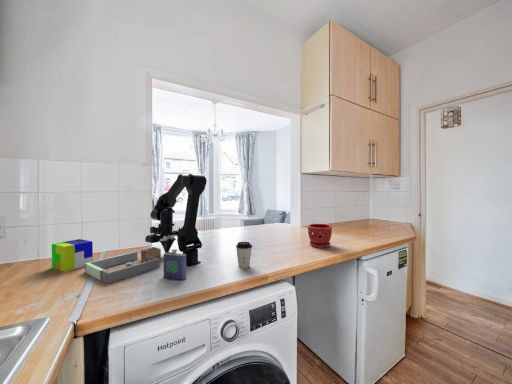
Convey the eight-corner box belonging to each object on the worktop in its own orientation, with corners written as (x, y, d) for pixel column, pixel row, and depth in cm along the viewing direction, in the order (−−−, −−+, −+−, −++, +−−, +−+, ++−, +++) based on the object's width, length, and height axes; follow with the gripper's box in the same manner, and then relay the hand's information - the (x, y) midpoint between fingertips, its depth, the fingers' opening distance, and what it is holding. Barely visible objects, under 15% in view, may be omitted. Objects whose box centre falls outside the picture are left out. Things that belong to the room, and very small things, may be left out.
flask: (187, 278, 81) (187, 249, 81) (182, 281, 78) (182, 251, 78) (166, 275, 84) (166, 247, 83) (161, 278, 81) (160, 249, 81)
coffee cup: (255, 265, 95) (255, 242, 94) (247, 270, 88) (247, 245, 88) (241, 262, 98) (241, 240, 98) (232, 267, 92) (232, 243, 92)
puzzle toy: (92, 264, 96) (92, 241, 96) (65, 271, 87) (64, 246, 87) (79, 260, 100) (79, 239, 100) (51, 268, 91) (51, 244, 91)
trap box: (160, 266, 93) (160, 258, 92) (107, 283, 76) (107, 273, 76) (136, 258, 103) (136, 251, 103) (84, 272, 87) (84, 263, 87)
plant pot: (307, 242, 134) (307, 223, 134) (329, 243, 132) (330, 223, 132) (308, 248, 122) (308, 226, 121) (333, 249, 119) (333, 227, 119)
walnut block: (160, 259, 103) (160, 248, 102) (148, 263, 98) (148, 252, 97) (153, 257, 106) (153, 246, 106) (140, 260, 101) (140, 249, 101)
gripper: (172, 218, 120) (173, 246, 121) (138, 222, 105) (139, 255, 105) (186, 220, 114) (186, 249, 115) (152, 224, 99) (152, 259, 99)
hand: (166, 253), depth 108 cm, fingers closed
